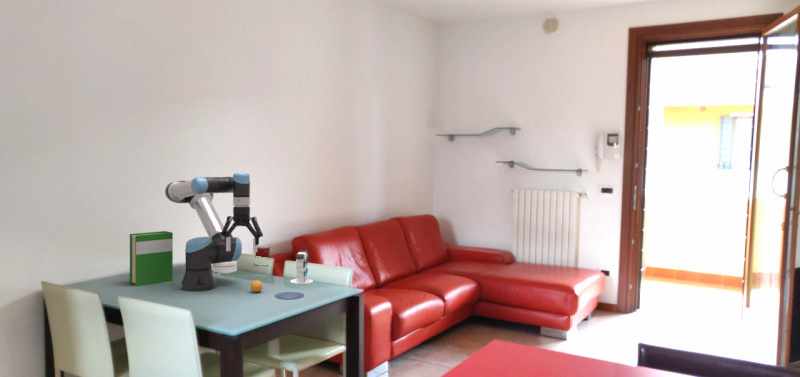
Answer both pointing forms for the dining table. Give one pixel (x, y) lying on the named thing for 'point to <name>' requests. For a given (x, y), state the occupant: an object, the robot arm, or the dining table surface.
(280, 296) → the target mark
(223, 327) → the dining table surface
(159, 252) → the hardback book
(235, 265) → the honey pot
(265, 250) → the canned food
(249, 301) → the dining table surface
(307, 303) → the dining table surface
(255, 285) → the ball
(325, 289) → the dining table surface
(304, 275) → the white stand device
